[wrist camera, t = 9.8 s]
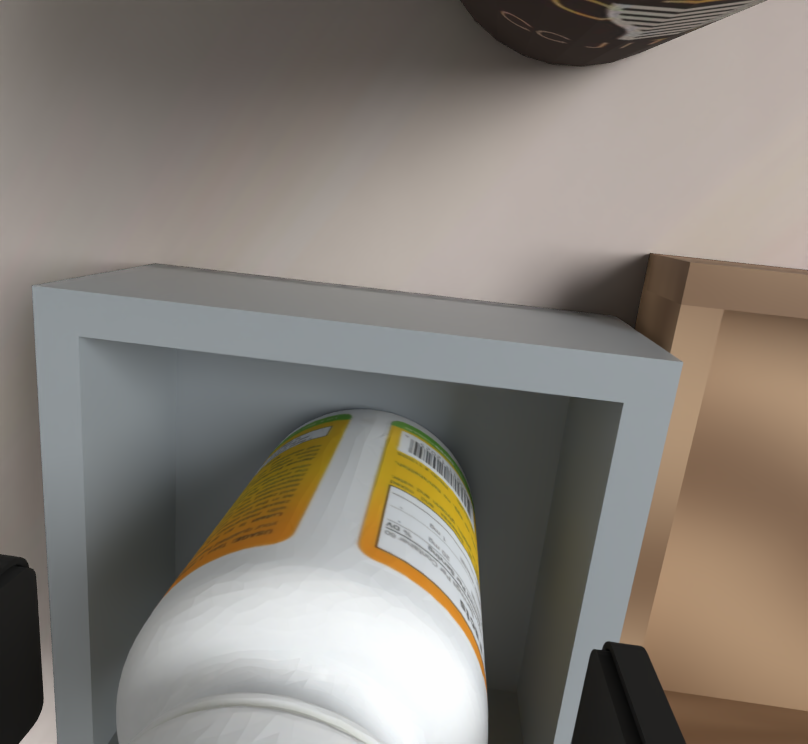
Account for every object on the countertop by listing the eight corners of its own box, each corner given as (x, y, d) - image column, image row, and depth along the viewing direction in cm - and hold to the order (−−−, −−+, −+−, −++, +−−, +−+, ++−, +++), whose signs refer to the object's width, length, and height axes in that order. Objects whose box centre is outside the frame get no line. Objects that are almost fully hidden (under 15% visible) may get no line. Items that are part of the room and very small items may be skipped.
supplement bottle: (254, 582, 16) (-21, 1090, 7) (268, 388, 15) (-53, 693, 5) (457, 615, 16) (459, 1190, 7) (491, 421, 15) (556, 801, 5)
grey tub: (155, 263, 15) (31, 285, 11) (615, 316, 14) (683, 362, 10) (156, 647, 18) (59, 787, 13) (539, 704, 17) (566, 871, 13)
